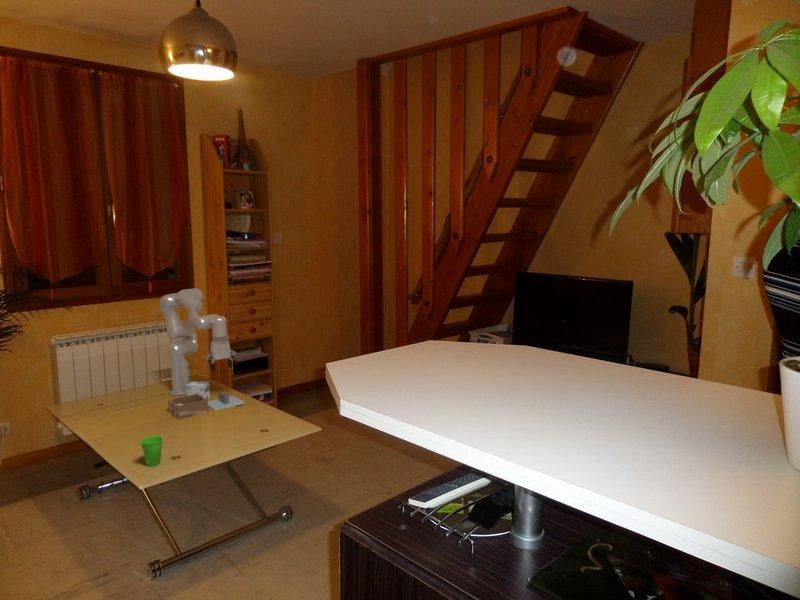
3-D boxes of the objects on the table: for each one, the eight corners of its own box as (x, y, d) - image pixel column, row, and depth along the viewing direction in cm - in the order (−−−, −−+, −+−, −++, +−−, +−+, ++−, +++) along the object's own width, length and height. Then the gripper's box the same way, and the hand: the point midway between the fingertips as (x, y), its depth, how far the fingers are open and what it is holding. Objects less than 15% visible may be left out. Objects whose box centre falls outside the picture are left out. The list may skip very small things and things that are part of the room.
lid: (204, 406, 308) (203, 393, 306) (233, 399, 318) (232, 387, 317) (214, 412, 296) (214, 400, 295) (244, 405, 307) (243, 393, 306)
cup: (137, 466, 232) (134, 442, 230) (154, 458, 240) (152, 434, 238) (152, 470, 228) (150, 445, 227) (169, 461, 236) (167, 437, 235)
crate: (169, 414, 294) (168, 400, 293) (199, 407, 304) (198, 393, 303) (178, 421, 283) (177, 406, 282) (208, 414, 294) (207, 399, 292)
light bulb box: (210, 399, 318) (209, 381, 316) (205, 403, 311) (203, 384, 310) (192, 399, 319) (191, 381, 317) (187, 402, 312) (185, 384, 311)
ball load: (173, 412, 294) (173, 403, 293) (183, 410, 297) (182, 401, 296) (177, 414, 290) (176, 405, 289) (186, 412, 293) (185, 403, 293)
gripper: (232, 335, 310) (233, 364, 313) (201, 339, 299) (203, 370, 302) (237, 337, 304) (239, 367, 307) (207, 342, 293) (208, 373, 296)
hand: (221, 368), depth 304 cm, fingers open, 9 cm apart
